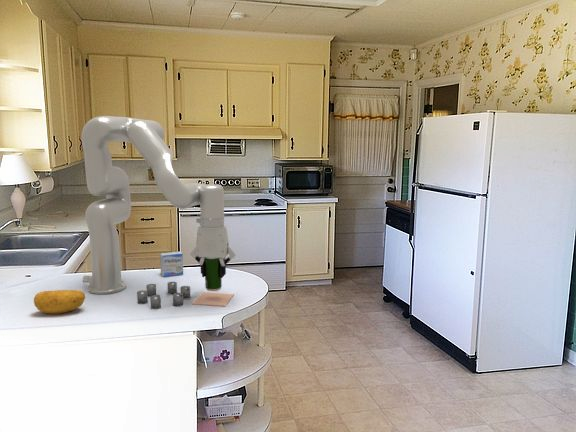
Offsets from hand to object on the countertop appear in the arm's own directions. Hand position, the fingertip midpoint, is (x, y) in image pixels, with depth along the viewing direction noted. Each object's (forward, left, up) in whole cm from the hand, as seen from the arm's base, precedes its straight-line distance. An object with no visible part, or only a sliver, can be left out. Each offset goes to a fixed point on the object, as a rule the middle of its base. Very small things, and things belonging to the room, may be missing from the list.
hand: (213, 275), depth 160 cm
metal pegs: (-16, -3, -8) cm, 18 cm away
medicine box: (-24, +24, -9) cm, 35 cm away
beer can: (0, 0, -5) cm, 5 cm away
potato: (-43, -19, -9) cm, 48 cm away
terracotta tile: (0, 0, -8) cm, 8 cm away
